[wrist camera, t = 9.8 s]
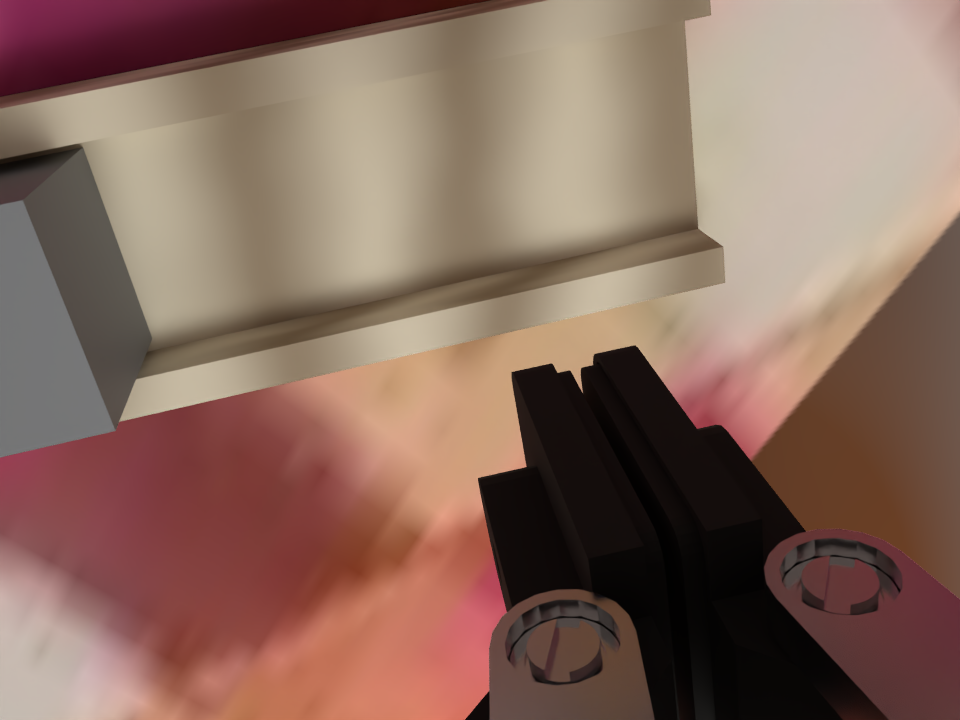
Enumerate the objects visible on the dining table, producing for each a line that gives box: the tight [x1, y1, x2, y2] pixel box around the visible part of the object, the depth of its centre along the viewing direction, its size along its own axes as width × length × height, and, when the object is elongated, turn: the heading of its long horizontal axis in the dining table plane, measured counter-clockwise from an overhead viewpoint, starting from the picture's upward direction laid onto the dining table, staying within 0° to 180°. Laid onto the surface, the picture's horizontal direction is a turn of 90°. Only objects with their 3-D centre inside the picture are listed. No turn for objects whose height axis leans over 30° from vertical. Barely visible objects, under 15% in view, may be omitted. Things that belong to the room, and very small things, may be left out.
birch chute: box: [0, 0, 725, 422], centre depth 27 cm, size 26×9×4 cm, turn 100°
